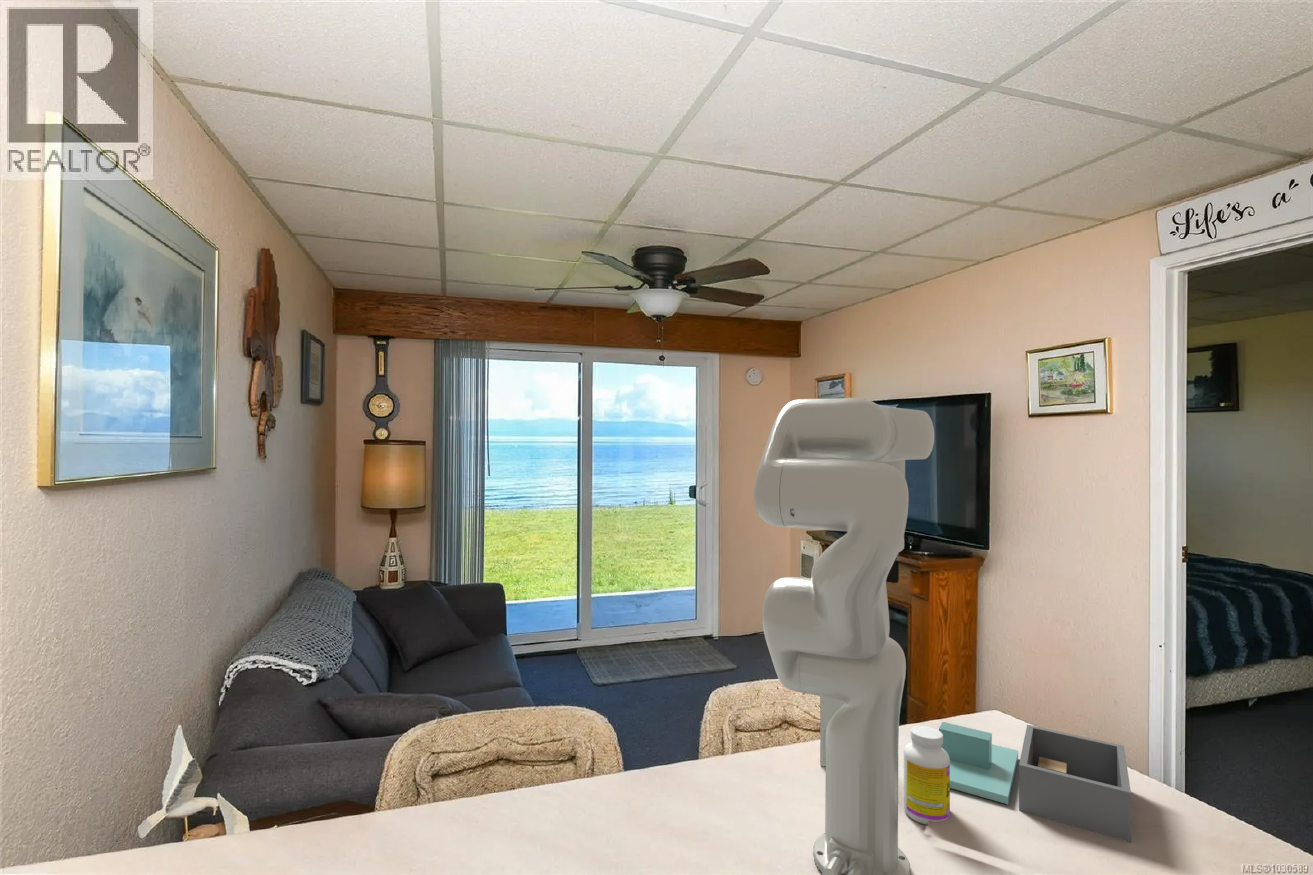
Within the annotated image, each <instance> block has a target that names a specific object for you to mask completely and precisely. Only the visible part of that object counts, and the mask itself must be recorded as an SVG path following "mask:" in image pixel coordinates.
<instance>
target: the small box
mask: <svg viewBox="0 0 1313 875" xmlns="http://www.w3.org/2000/svg"><path fill="white" fill-rule="evenodd" d="M819 697H820V698H819V701H820V711H819V712H820V713H819V715H820V716H819V720H820V722H819V723H820V724H819V726H820V729H819V730H820V731H819V732H820V733H819V736H820V738H819V740H820V743H819V747H820V748H819V754H820V755H819V756H820V757H819V765H820V767H825V766H826V730H827V726H828V724H829V722H830V720H831V718H832V717H833V716H834V715H835V713H836V712H837V711H838V710H839V709H840V708H841V707H842V706H843V705H845V704H846V703H845V702H844V701H841V700H837V699H834V698H828V697H822V696H819Z"/></svg>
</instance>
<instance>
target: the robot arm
mask: <svg viewBox="0 0 1313 875" xmlns="http://www.w3.org/2000/svg"><path fill="white" fill-rule="evenodd" d="M767 438H768V439H767V442H766V444H765V447H764V450H763V453H762V456H761V458H760V462H759V464H758V468H757V473H756V476H755V478H754V479H755V480H754V485H753V486H754V487H753V502H754V508H755V510H756V513H757V515H758V516H759V518H760V519H761V520H763V521H764V522H765V523H766V524H768V525H771V526H774V527H778V528H787V529H788V528H790V529H791V528H792V529H803V530H805V529H807V530H808V529H809V530H820V531H821V530H822V531H823V530H824V531H837V532H838V531H839V532H846V533H845V534H844V535H842V537H839V538H838V539H837V540H835V541H834V542H833V543H832V544H831V545H829V546H828V547H827V548H826V549H825V550H824V551H823V552H822V553H821V554H820V555H819V557H817V559H816V560H815V562H814V564H813V566H812V568H811V573H810V576H811V577H808V578H807V577H800V576H799V577H798V576H786V577H781V578H778V579H776V580H774V581H772V583H771V584H770V585H769V587H768V588H767V590H766V592H765V596H764V599H763V602H762V611H761V612H762V616H761V617H762V619H761V621H762V630H763V634H764V639H765V641H766V642H765V643H766V646H767V648H768V652H769V655H770V658H771V662H772V664H773V667H774V670H775V673H776V676H777V678H778V681H779V682H780V684H782V686H783V687H784V688H786V689H787V690H790V691H792V692H796V693H801V694H806V695H813V696H817V697H820V696H822V697H828V698H834V699H837V700H841V701H844V702H845V703H846V704H845V705H843V706H842V707H841V708H840V709H839V710H838V711H837V712H836V713H835V715H834V716H833V717H832V718H831V720H830V722H829V724H828V726H827V730H826V767H825V792H824V793H825V794H824V795H825V796H824V797H825V800H824V802H825V803H824V804H825V806H824V807H825V810H824V814H825V815H824V816H825V817H824V820H825V821H824V827H825V828H824V833H822V834H821V835H819V836H818V837H817V838H816V839H815V841H814V844H813V849H812V850H813V851H812V853H813V854H812V856H813V861H814V863H815V864H816V867H817V868H818V869H819V871H820V872H821V873H822V875H911V864H910V861H909V858H908V857H907V856H906V854H905V852H903V851H902V850H901V848H899V738H900V737H899V735H900V734H899V732H900V731H899V730H900V728H899V727H900V714H901V706H902V699H903V692H904V686H905V680H906V673H907V672H906V671H907V662H906V656H905V652H904V649H903V648H902V647H901V645H900V644H899V643H898V641H896V640H894V639H893V638H891V637H890V630H891V629H890V624H891V623H890V611H889V603H888V601H889V600H888V592H887V590H888V589H887V583H891V584H892V583H893V584H897V583H899V581H900V580H899V579H900V575H899V574H900V573H899V572H900V561H899V558H900V556H899V553H900V552H902V551H903V550H904V549H905V532H906V526H907V522H908V521H907V519H908V514H909V512H908V511H909V499H910V498H909V488H908V483H907V479H906V461H908V460H909V461H910V460H911V461H912V460H926V459H927V458H929V456H930V455H931V453H932V451H933V448H934V444H935V428H934V424H933V420H932V419H931V417H930V414H929V413H928V412H926V411H925V410H921V409H912V408H911V409H910V408H903V407H902V408H901V407H895V406H889V405H880V404H877V403H875V402H874V401H872V400H869V399H866V398H860V397H840V398H835V397H834V398H799V399H798V398H797V399H794V400H791V401H789V402H788V403H787V404H785V405H784V406H783V407H782V408H781V409H780V411H779V412H778V414H777V416H776V418H775V420H774V423H773V424H772V427H771V429H770V431H769V434H768V437H767Z"/></svg>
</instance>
